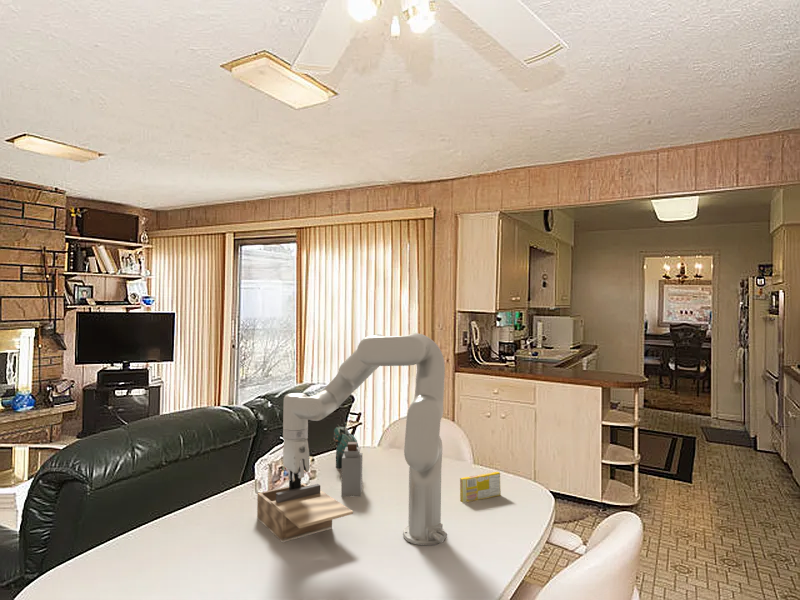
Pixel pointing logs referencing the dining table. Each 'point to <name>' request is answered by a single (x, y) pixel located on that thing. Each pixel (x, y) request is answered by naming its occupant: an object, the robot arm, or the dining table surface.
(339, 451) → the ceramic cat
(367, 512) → the dining table surface
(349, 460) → the perfume bottle
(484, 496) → the candy box
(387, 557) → the dining table surface
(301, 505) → the sliding wooden box lid
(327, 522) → the wooden box
